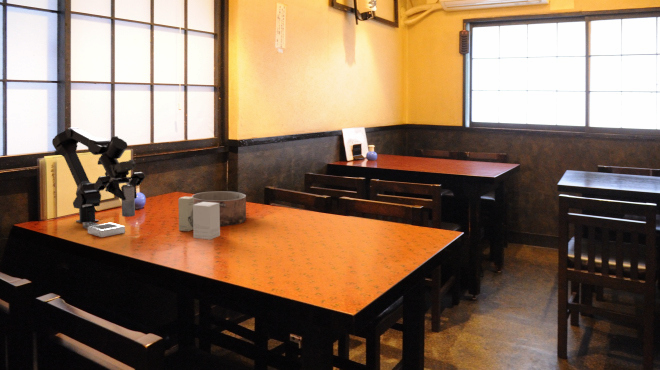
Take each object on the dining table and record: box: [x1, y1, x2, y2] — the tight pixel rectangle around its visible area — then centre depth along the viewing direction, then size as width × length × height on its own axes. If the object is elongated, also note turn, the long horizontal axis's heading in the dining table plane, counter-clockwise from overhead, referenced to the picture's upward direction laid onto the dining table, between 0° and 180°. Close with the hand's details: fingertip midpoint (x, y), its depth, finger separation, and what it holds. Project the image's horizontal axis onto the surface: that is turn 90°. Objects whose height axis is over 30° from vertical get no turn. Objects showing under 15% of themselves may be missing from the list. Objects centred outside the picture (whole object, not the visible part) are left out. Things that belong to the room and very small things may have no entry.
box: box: [177, 195, 194, 232], centre depth 209 cm, size 5×4×13 cm
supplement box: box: [192, 202, 221, 241], centre depth 199 cm, size 7×7×13 cm
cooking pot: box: [191, 190, 247, 227], centre depth 226 cm, size 30×22×11 cm
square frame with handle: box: [82, 221, 126, 238], centre depth 204 cm, size 20×9×2 cm, turn 54°
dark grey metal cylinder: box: [120, 184, 136, 218], centre depth 201 cm, size 5×5×12 cm
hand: (130, 198), depth 200 cm, fingers closed on dark grey metal cylinder, 5 cm apart
